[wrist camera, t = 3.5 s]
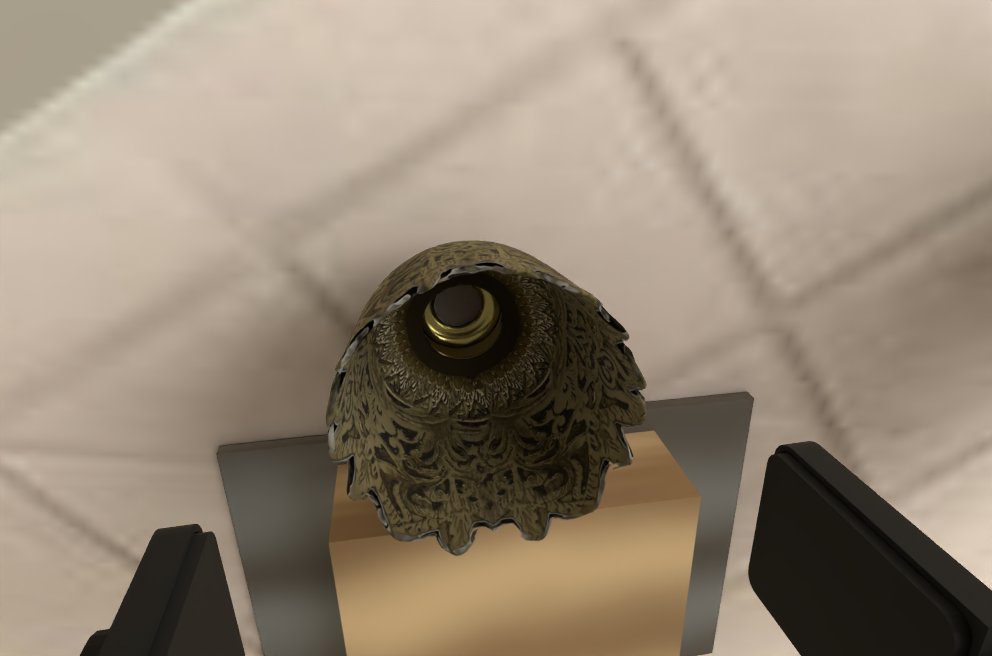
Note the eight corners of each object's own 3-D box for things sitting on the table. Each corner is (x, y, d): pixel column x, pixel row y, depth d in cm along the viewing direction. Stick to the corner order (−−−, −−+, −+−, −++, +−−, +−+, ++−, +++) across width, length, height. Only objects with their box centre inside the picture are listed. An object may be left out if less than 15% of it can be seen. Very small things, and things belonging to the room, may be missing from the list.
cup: (565, 189, 21) (663, 261, 13) (561, 387, 23) (639, 534, 16) (332, 202, 20) (300, 288, 12) (359, 407, 22) (345, 574, 15)
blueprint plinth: (220, 445, 22) (182, 533, 18) (747, 391, 25) (818, 457, 21) (282, 712, 28) (264, 824, 24) (707, 644, 30) (756, 734, 26)
